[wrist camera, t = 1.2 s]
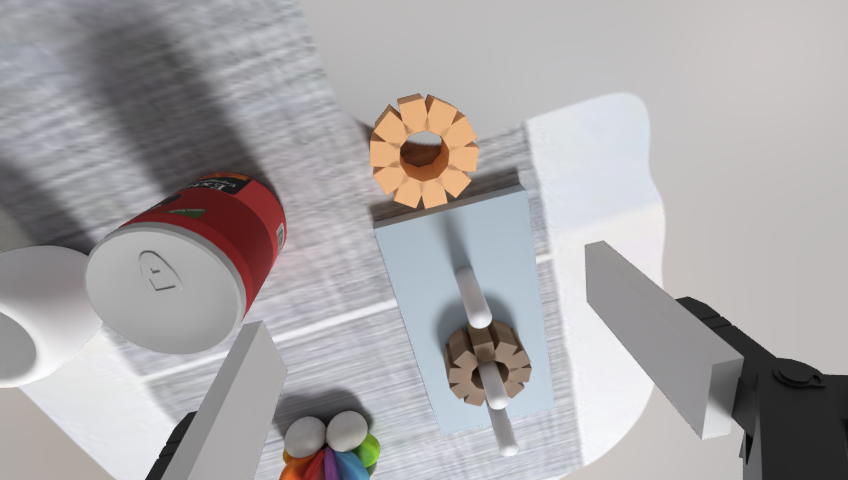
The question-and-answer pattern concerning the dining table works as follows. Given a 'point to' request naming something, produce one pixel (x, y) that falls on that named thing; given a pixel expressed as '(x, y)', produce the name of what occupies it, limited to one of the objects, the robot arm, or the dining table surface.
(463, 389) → the gear
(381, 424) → the dining table surface
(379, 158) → the gear
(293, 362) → the dining table surface
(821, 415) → the robot arm
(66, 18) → the dining table surface
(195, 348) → the canned food
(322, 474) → the multicolored petal toy
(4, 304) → the mug
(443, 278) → the gear board
